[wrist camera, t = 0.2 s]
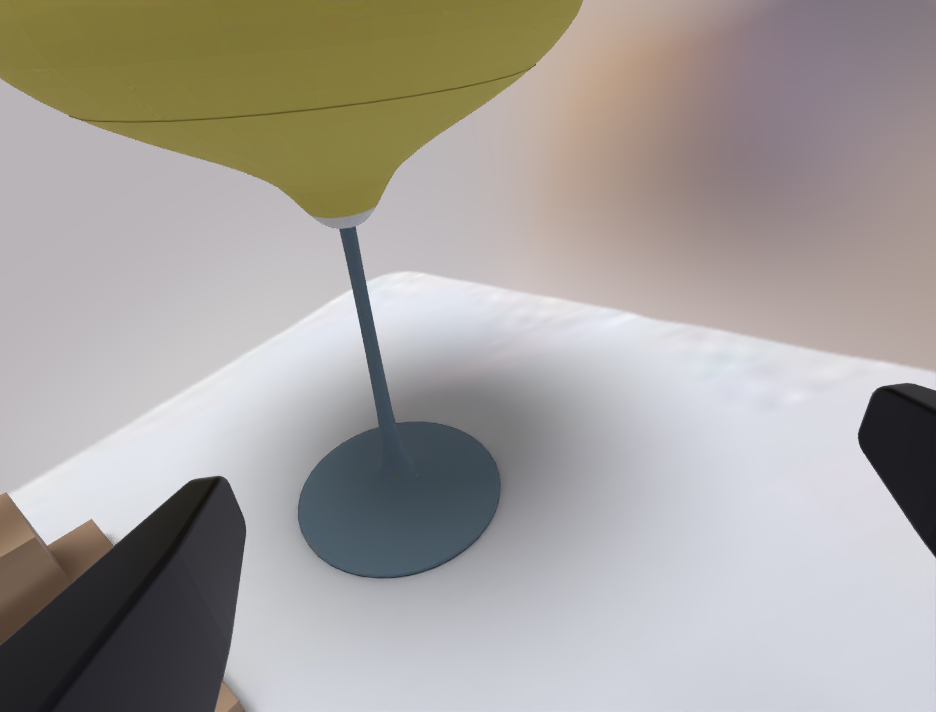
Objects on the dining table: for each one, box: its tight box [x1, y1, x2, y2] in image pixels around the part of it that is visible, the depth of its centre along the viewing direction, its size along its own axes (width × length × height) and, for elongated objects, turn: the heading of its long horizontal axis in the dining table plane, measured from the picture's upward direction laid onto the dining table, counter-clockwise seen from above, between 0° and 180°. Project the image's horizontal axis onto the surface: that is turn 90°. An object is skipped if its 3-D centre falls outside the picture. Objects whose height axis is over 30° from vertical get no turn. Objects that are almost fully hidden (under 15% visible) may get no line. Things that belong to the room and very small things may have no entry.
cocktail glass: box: [0, 0, 583, 578], centre depth 23 cm, size 18×18×25 cm
